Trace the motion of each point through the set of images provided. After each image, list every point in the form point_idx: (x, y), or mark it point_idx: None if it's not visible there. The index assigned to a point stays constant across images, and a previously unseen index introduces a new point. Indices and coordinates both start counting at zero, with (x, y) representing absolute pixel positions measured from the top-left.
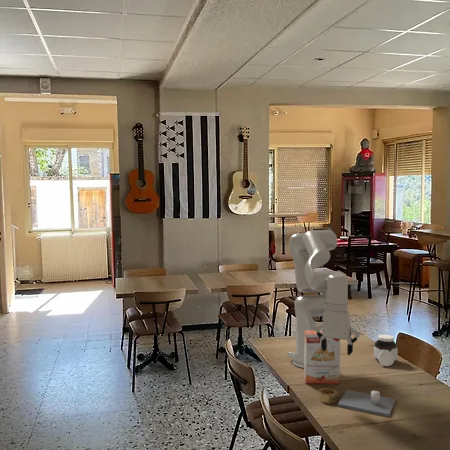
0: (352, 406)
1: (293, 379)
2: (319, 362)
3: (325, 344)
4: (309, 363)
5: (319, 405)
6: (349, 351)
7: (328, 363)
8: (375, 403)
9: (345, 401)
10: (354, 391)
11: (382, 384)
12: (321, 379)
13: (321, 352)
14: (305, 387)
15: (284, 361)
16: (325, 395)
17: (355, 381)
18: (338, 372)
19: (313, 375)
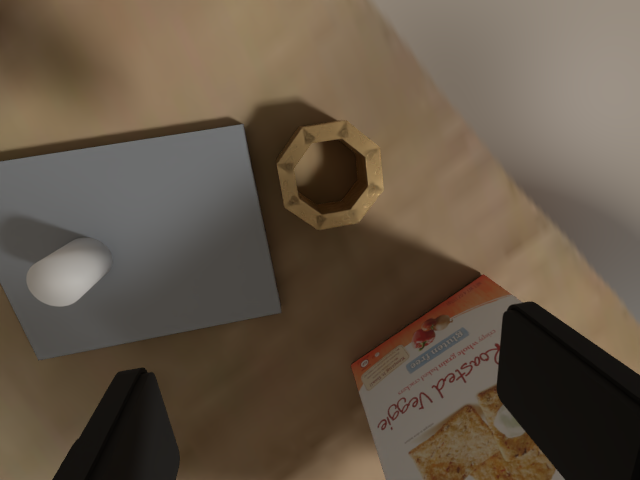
0: (159, 139)
1: (546, 282)
2: (487, 380)
3: (558, 414)
4: None
5: (328, 72)
6: (102, 425)
7: (434, 408)
8: (72, 241)
9: (222, 178)
10: (243, 318)
11: (191, 469)
12: (427, 327)
13: (521, 444)
14: (469, 236)
15: None
16: (321, 124)
17: (300, 427)
18: (366, 402)
19: (472, 314)
